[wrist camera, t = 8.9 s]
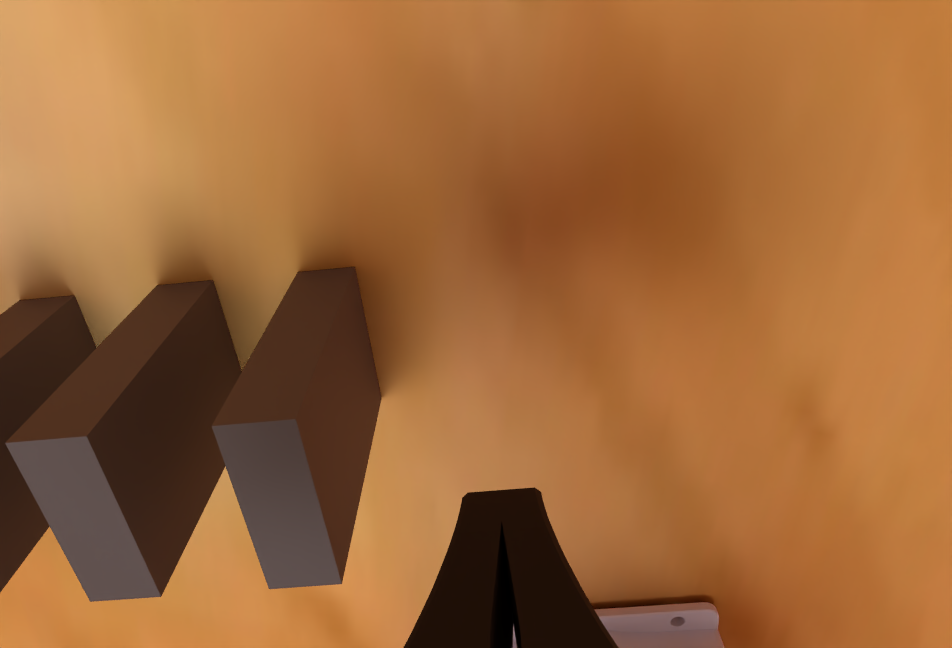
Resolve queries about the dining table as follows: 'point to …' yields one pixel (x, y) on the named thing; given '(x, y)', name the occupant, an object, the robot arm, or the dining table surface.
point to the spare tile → (31, 404)
